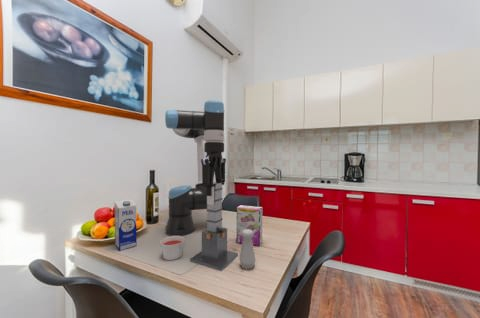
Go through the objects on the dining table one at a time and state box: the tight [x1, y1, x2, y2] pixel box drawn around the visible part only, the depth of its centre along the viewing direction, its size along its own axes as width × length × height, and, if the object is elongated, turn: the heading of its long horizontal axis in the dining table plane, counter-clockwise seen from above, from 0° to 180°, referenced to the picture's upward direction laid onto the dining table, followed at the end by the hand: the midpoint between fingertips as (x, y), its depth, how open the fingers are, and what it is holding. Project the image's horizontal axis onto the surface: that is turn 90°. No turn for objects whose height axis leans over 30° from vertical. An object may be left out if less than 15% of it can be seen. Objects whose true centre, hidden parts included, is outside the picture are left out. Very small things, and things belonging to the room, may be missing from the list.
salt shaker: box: [239, 229, 256, 270], centre depth 73 cm, size 6×6×13 cm
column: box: [205, 181, 223, 234], centre depth 78 cm, size 4×4×22 cm
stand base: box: [189, 226, 239, 272], centre depth 78 cm, size 14×12×12 cm
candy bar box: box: [236, 204, 263, 247], centre depth 92 cm, size 11×5×16 cm, turn 71°
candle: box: [159, 235, 185, 261], centre depth 80 cm, size 9×9×6 cm
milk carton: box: [114, 198, 138, 252], centre depth 89 cm, size 7×7×20 cm
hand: (214, 202), depth 78 cm, fingers closed on column, 4 cm apart
